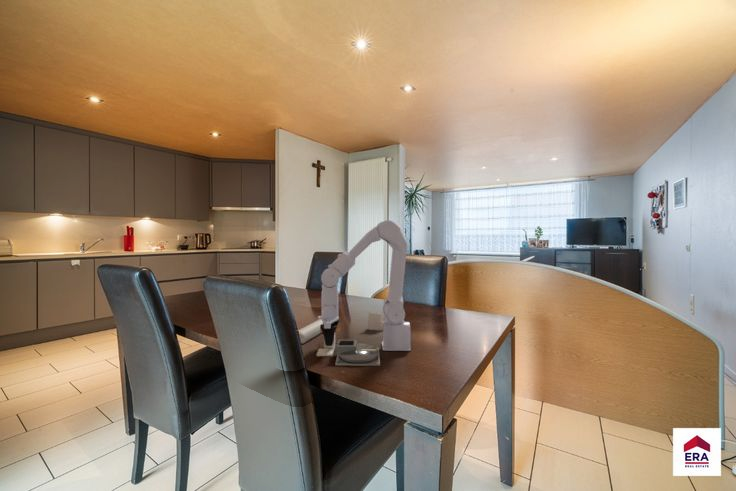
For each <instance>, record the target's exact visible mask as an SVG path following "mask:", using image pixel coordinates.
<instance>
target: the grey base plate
mask: <svg viewBox="0 0 736 491" xmlns="http://www.w3.org/2000/svg"><path fill="white" fill-rule="evenodd" d="M357 340H358V339H337V342H336V343H335V354H336V355H338V357H339V358H340V359H341V360H343V361H346V362H351V363H365V362H370V361H373V360H375V359H377V358H378V356H379V357H380V349H379V350H378V348H379V347H377V346H374V345H372V344H367V343H358V342H357Z"/></svg>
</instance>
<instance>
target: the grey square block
mask: <svg viewBox="0 0 736 491" xmlns="http://www.w3.org/2000/svg"><path fill="white" fill-rule="evenodd" d="M382 316H383V315H382V313H378V312H368V321H367V330H370V331H382V332H383V329H382V327H383V320H384V319H383V320H382V318H383V317H382Z"/></svg>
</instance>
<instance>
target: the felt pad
mask: <svg viewBox="0 0 736 491" xmlns="http://www.w3.org/2000/svg"><path fill="white" fill-rule="evenodd" d="M334 351H335V350H334V349H324V348H318V350H317V352H316V357H333V356H334Z"/></svg>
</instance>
